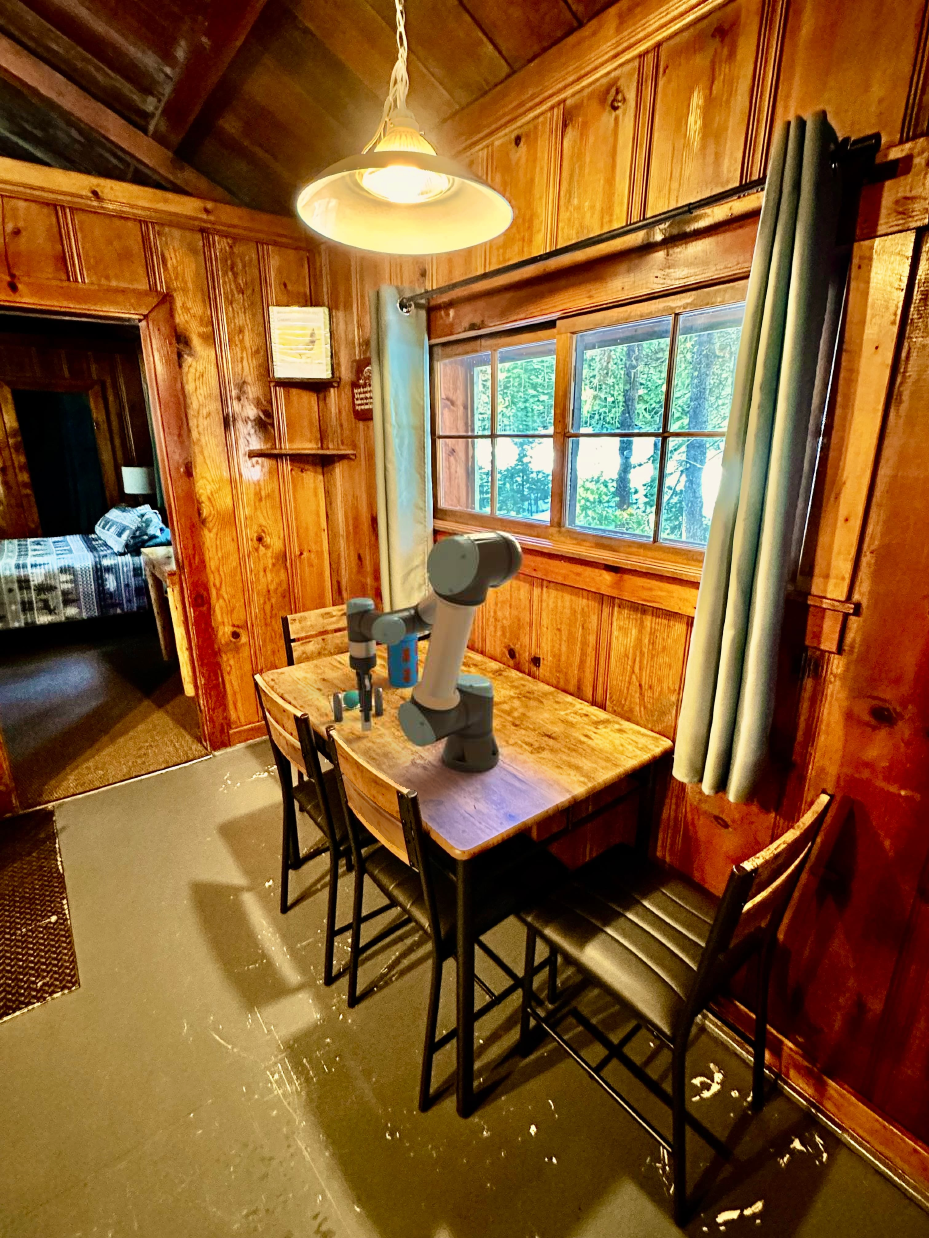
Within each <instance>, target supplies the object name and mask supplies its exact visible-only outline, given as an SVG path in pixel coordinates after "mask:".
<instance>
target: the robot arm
mask: <svg viewBox="0 0 929 1238" xmlns="http://www.w3.org/2000/svg"><path fill="white" fill-rule="evenodd" d="M523 559H524V557H523V551H522V548H521V545H520V544H519V541H517V540H516V539H515V537H514V536H512V535H511V534H510V533H507V532H504V531H502V530H489V531H482V532H475V533H467V534H461V533H460V534H454V535H451V536H449V537H448V536H447V537H444V538H442V539H440V540H438V541H437V542H436V543H435V544H434V545H433V546H432V548H431V550H430V551H429V553H428V556H427V560H426V573H427V574H428V577H427V579H428V582H429V584H430V585H431V587H432V592H430V593H429V594H428V595H426V596H425V597H424V598H422V599H421V600H420V601H419V602H417V603H416V604H415V605H411V606H408V607H404V608H399V609H394V610H391V611H390V610H389V611H386V612H385V611H384V612H381V611H379V610H376V609H375V608H376V606H375V604H374V603H375V602H374V601H373V599H371V598H370V597H355V598H352V599H351V598H350V599H349V600H347V602H346V607H345V608H346V613H345V617H346V618H345V619H346V629H347V640H348V642H347V643H346V644H345V646H346V647H347V648H348V653H349V655H348V661H349V662H348V663H349V668H350V669H351V670H353V671H355V677H356V684H357V690H358V697H359V704H360V708H359V709H358V712H359V713H360V723H361V724H360V725H361V732H362V733H365V732H366V733H367V732H372V731H373V729H372V726H373V725H372V712H373V706H372V696H373V689H374V684H373V683H372V680H373V674H372V673H371V670H372V669H375V668H376V667H377V665H378V664H377V663H378V662H377V659H378V658H377V642H378V643H380V644H382V645H386V646H387V645H396V644H398V643H399V642H400V641H401V640H402V639H403V638H404V637H405V636H409V635H412V634H416V633H418V634H421V633H424V632H430V636H429V641H428V646H427V651H426V655H425V659H424V664H423V669H422V673H421V679H420V680H418V682H417V683H416V684H415V685H414V686H413V688H412V691H411V695H410V699H409V700H405V701H403V702H402V703H400V705H399V707H398V710H397V718H398V723H399V726H400V727H401V731H402V732H403V734H404V735H405V738H407V739H408V741H409V742H410V743H412V744H413V745H415V746H416V747H420V748H422V747H426V746H429V745H433V744H435V743H437V742H439V741H442V740H444V739H446V740H445V743H444V746H443V749H442V760H443V763H444V764H445V765H446V766H448V767H449V768H450V769H452V770H455V771H459V772H462V773H479V772H484V771H487V770H489V769H492V768H494V767H495V766H496V765H497V764H498V762H499V761H500V760H499V759H500V750H499V746H498V744H497V740H496V737H495V734H494V732H493V731H494V702H495V701H494V698H495V694H494V684H493V682H492V680H490V679H489V678H487V677H485V676H482V675H479V674H475V673H474V674H473V673H461V670H462V666H463V663H464V658H465V655H466V650H467V646H468V641H469V639H470V634H471V630H472V627H473V622H474V618H475V614H476V610H477V608H478V607H481V606H482V605H484V604H485V602H486V599H487V595H488V592H489V589H497V588H499V587H501V586H502V585H504V584H505V583H508V582H509V581H511V580H512V579H513V578H514V577H515V576H517V575H518V573H519V571H520V570H521V568H522V565H523V561H524V560H523Z"/></svg>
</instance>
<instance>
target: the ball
mask: <svg viewBox="0 0 929 1238" xmlns="http://www.w3.org/2000/svg"><path fill="white" fill-rule="evenodd" d="M356 691H357V690H349V691H345V692H346V693H345V694H344V696H343V703H344V704H345V705H346V706H347V707H349V708H353V707H356V706H357V705H358V704H359V697H358V693H357V692H356Z"/></svg>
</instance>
